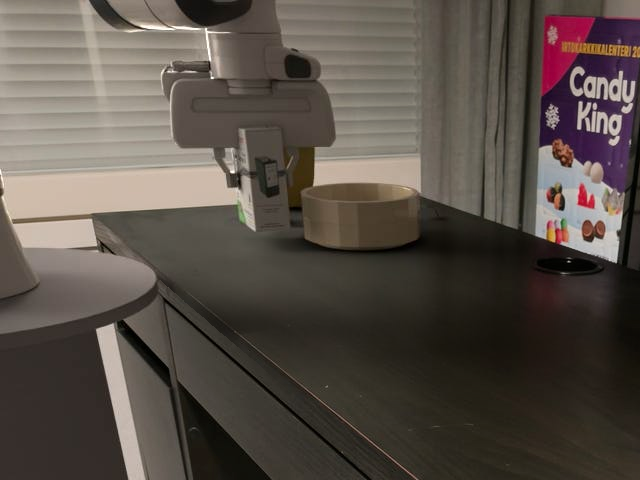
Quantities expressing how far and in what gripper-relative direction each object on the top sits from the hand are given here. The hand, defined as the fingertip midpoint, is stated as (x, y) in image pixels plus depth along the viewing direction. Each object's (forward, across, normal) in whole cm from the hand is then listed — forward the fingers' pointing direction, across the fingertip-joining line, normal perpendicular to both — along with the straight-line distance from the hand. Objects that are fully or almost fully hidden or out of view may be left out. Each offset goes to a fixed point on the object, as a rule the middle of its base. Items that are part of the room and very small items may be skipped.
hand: (260, 186), depth 119 cm
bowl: (+7, +13, 0) cm, 14 cm away
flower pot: (+7, +4, +27) cm, 28 cm away
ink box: (+5, 0, 0) cm, 5 cm away
